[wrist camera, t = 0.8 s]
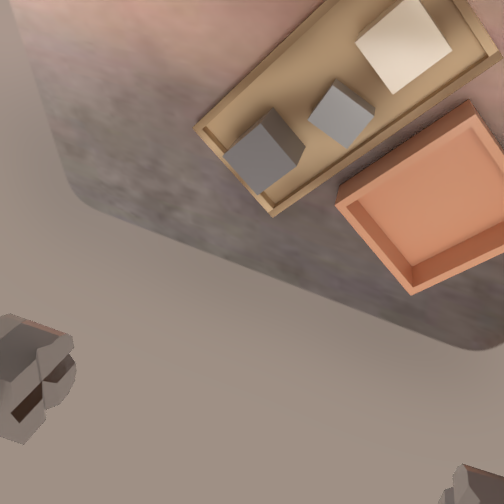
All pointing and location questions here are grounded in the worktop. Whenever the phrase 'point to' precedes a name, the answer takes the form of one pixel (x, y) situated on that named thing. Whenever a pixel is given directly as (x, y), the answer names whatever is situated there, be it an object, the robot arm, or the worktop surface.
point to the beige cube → (402, 43)
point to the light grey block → (342, 114)
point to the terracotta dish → (432, 201)
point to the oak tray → (350, 74)
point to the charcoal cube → (265, 152)
